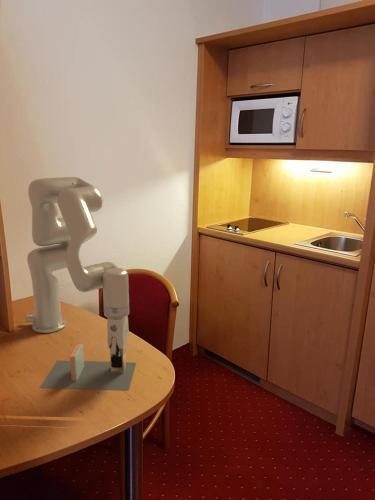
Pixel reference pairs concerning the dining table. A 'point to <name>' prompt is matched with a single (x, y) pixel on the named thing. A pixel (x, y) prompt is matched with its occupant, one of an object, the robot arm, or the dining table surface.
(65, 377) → the mat
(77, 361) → the tile
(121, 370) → the light wood block
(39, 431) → the dining table surface
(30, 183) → the robot arm
